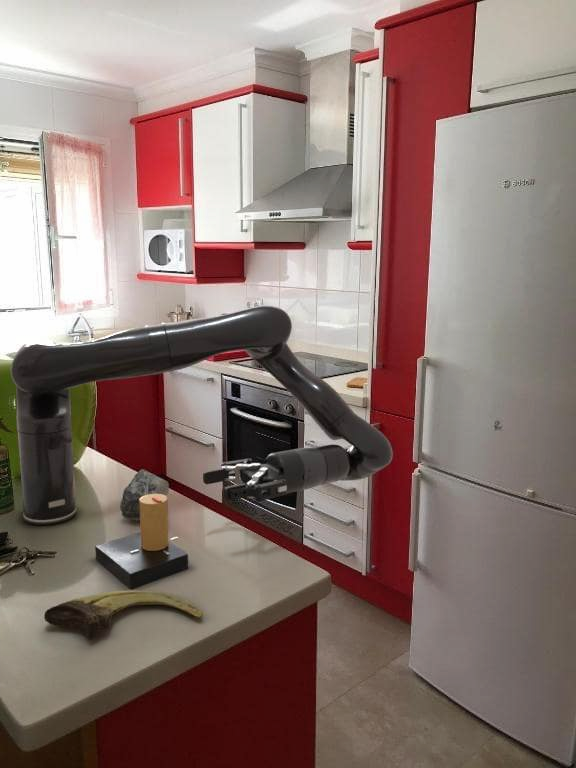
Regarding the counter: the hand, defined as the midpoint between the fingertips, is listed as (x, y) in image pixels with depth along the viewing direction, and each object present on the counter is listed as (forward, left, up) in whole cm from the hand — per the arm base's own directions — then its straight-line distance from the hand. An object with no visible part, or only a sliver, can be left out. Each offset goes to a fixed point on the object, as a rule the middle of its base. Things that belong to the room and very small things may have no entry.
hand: (214, 486), depth 106 cm
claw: (+11, -22, -11) cm, 27 cm away
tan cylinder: (-2, -10, -8) cm, 13 cm away
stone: (-18, -3, -11) cm, 21 cm away
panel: (-2, -13, -11) cm, 17 cm away
